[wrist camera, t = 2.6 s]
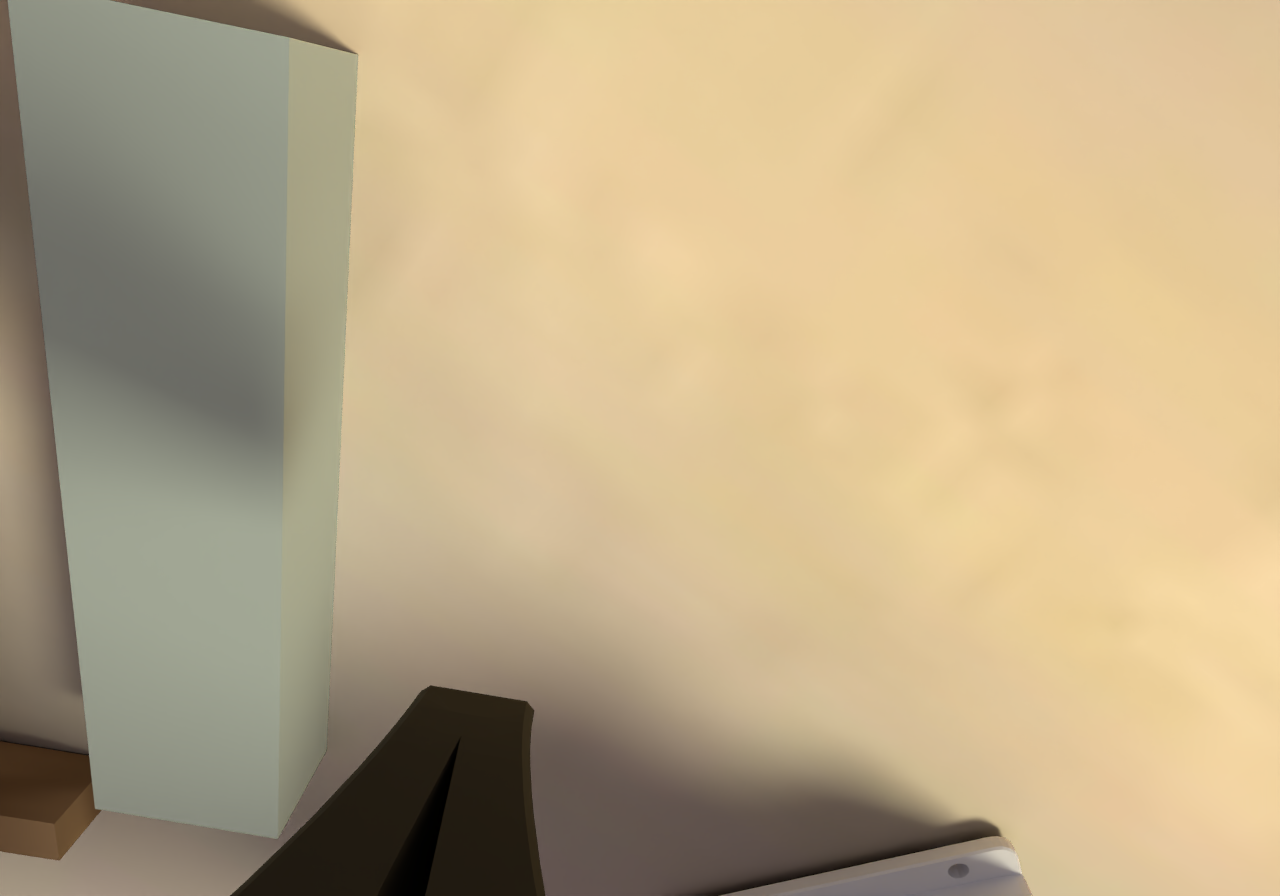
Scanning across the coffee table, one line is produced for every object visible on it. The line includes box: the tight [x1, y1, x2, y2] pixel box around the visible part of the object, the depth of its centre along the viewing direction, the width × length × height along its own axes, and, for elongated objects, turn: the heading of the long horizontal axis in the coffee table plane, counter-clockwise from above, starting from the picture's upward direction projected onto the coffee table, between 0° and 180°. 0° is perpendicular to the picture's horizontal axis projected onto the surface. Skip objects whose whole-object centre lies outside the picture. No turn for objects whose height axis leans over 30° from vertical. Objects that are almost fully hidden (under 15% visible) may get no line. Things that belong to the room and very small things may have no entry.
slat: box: [8, 0, 358, 839], centre depth 15 cm, size 4×16×3 cm, turn 169°
